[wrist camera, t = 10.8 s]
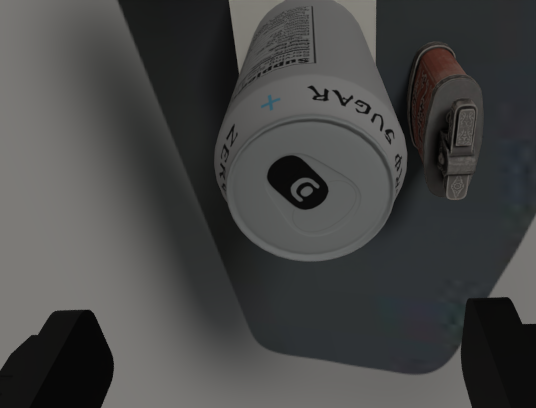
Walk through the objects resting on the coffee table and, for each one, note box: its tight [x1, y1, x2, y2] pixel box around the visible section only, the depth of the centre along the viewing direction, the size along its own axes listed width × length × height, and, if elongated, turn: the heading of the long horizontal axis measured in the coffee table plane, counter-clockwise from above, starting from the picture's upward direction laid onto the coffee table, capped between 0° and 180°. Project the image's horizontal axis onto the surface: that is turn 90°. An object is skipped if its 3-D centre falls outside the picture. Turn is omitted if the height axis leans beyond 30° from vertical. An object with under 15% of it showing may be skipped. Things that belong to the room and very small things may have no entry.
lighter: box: [407, 42, 483, 200], centre depth 33 cm, size 8×3×10 cm, turn 6°
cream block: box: [229, 0, 376, 75], centre depth 29 cm, size 8×8×4 cm
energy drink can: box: [214, 0, 407, 262], centre depth 21 cm, size 6×6×15 cm
